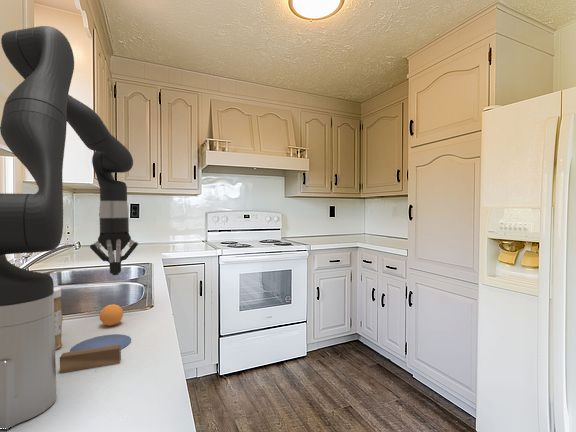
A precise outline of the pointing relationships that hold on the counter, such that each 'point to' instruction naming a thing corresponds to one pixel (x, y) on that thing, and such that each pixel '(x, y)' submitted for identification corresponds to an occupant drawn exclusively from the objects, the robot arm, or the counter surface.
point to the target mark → (103, 342)
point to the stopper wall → (90, 358)
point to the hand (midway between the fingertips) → (115, 274)
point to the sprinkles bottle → (57, 317)
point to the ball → (111, 314)
